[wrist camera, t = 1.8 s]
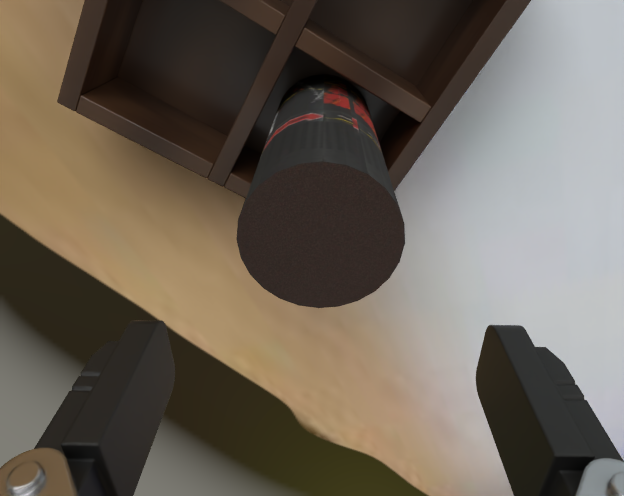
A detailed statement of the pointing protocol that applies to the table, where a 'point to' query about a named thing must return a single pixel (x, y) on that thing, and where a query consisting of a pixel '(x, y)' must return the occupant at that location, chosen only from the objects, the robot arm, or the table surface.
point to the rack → (274, 70)
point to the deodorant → (321, 200)
